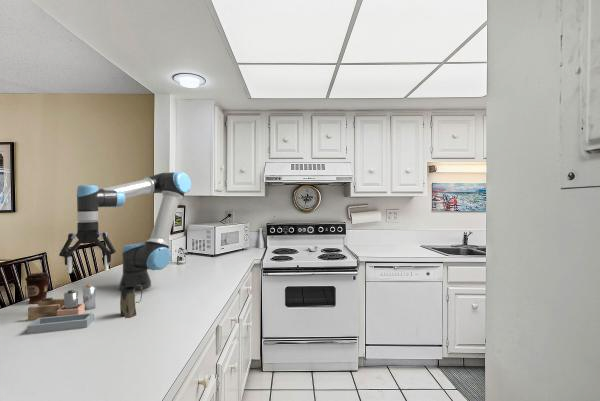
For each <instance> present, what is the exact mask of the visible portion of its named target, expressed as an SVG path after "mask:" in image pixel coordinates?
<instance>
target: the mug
mask: <svg viewBox="0 0 600 401" xmlns="http://www.w3.org/2000/svg"><path fill="white" fill-rule="evenodd" d="M136 286H140V287H141V289H140V300H139V301H136V290H135V287H125V288H122V289H121V290H120V297H119V298H120V301H119V305H120V306H119V307H120V309H119V310H120V316H121V317H124V318H125V319H130V318H134V317H135V316H137V309H136V303H137V304H140V302H141V301H142V298H143V297H142V296H143V289H142V286H141V285H136Z"/></svg>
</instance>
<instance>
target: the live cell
mask: <svg viewBox="0 0 600 401" xmlns="http://www.w3.org/2000/svg"><path fill="white" fill-rule="evenodd" d="M82 303H85V311H91V310H94V309H96V285H95V284H92V283H87V284H86V285H84V286H82Z"/></svg>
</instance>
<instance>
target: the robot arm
mask: <svg viewBox="0 0 600 401" xmlns="http://www.w3.org/2000/svg"><path fill="white" fill-rule="evenodd" d="M191 188H192V181H191V179H190V176H189V175H188V174H187V173H186V172H184V171H175V172H172V171H171V172H161V173H157V174H154V175H149V176H146V177H143V178H142V179H141V180H136V181H132V182H126V183H122V184H117V185H113V186H108V187H103V188H99V186H98V185H96V184H95V185H94V184H93V185H92V184H81V185H78V186H77V189H76V206H77V207H76V210H77V212H76V219H77V221H78V222H77V223H76V224H77V225H76V226H77V227H76V228H77V229H76V230H77V231H76V232H77V233H73V232H72V233H71V232H70V233H68V234H67V239H66V241H65V243H64V245H63V247H62V249H61V250H60V252H59V257H63V258H64V265H65V266H67V274H72V273H73V257H72V256H71V255H72V254H73V253H74V252H75V251H76V250H77V249H78V248H79V246H80V245H82V244H83V245H85V244H89V245H91V244H95V245H96V246H97V247H98V248H99V249H101V251H102V252H103V253H104V254H105V255H104V272H107V271H109V263H110V264H111V261H112V255H113V254H115V253H116V251H117V250H116V249H115V247H114V246H113V244H112V243H111V240H110V239H109V237H108V232H107V231H103V232H101V233H100V231H99V222H98V220H99V208H117V207H122V206H124V205H125V203H126V199H129V198H132V197H133V198H134V197H137V196H142V195H145V194H147V195H153V194H162V199H161V202H160V206H159V208H158V212H157V215H156V218H155V221H154V225H153V227H152V228H153V229H152V231H151V236H150V238H149V239H147V240H145V242H140V243H133V244H127V245H124V246H123V247H122V251H121V252H122V253H121V254H122V275H121V278H120V282H119V286H118V287H119V288H118V289H119V290H120V291H121V289H122V288H125V287H135V291H139V290H140V291H141V287H140V286H136V285H141V286H142V290H144V289H147V288H148V289H149V287H151V286H152V280H151V278H150V275H149V272H148V270H150V271H160V270H161V271H162V270H163V269H164V268H166V267H167V266H168V265H169V264H170V261H171V259H172V253H171V250H170V249H169V248H170V245H169V243H168V241H169V238H170V235H171V230H172V227H173V224H174V221H175V216H176V213H177V210H178V207H179V203H180V201H181V200H183V199H184V196H185V194H187V193H188V192H190V191H191ZM99 237H101V238H102V239H103V241H104V243H105V245H104V244H103V243H102V242H101V240H100V239H99ZM75 238H77V241H76V242H75V244H73V245H72V247H71V248H70V246H71V244H72V242H73V240H74V239H75ZM69 248H70V249H69ZM68 249H69V250H68Z"/></svg>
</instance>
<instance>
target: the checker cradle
mask: <svg viewBox="0 0 600 401" xmlns="http://www.w3.org/2000/svg"><path fill="white" fill-rule="evenodd" d="M63 306H64V298H55V299H54V298H53V297H46V298H44V299H42V300H40V301H38V303H37V305H36V306H35V305H34V306H32V305H31V306H29V307H27V319H26V320H25V321H26V322H34V321H35V320H36V319H38V318H44V317H54V316H57V310H59V309H60V308H61V307H63Z"/></svg>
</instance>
